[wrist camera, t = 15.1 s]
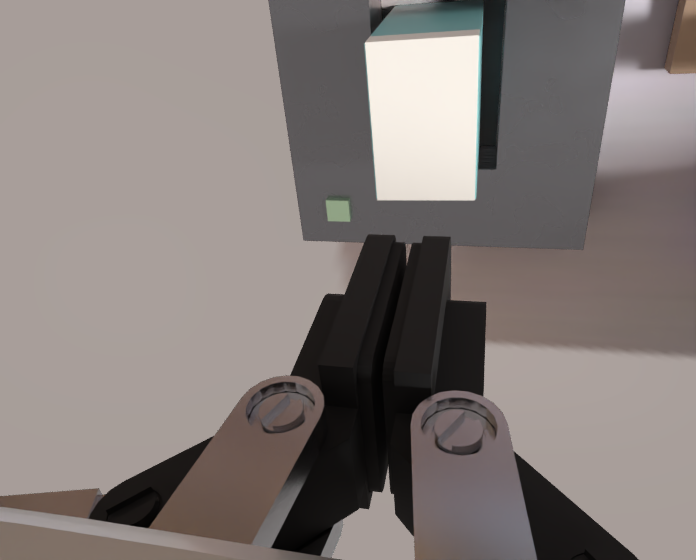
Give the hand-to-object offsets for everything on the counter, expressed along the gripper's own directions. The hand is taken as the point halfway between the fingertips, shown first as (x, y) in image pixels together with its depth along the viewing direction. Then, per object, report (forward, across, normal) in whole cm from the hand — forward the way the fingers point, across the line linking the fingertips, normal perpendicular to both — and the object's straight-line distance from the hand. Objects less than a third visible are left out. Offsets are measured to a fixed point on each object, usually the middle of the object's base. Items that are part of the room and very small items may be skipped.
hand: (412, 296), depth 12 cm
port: (+19, +1, 0) cm, 19 cm away
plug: (+19, +1, 0) cm, 19 cm away
